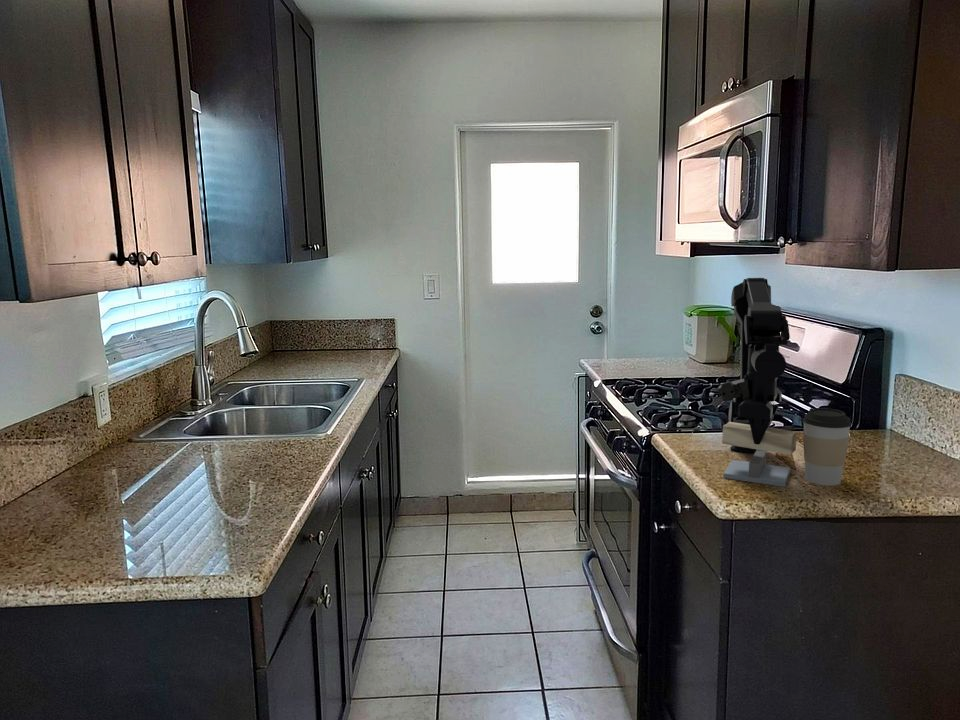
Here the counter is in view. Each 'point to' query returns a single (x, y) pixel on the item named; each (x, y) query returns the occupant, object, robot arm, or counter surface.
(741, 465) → the ridge stand
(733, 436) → the ash bar
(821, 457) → the coffee cup
